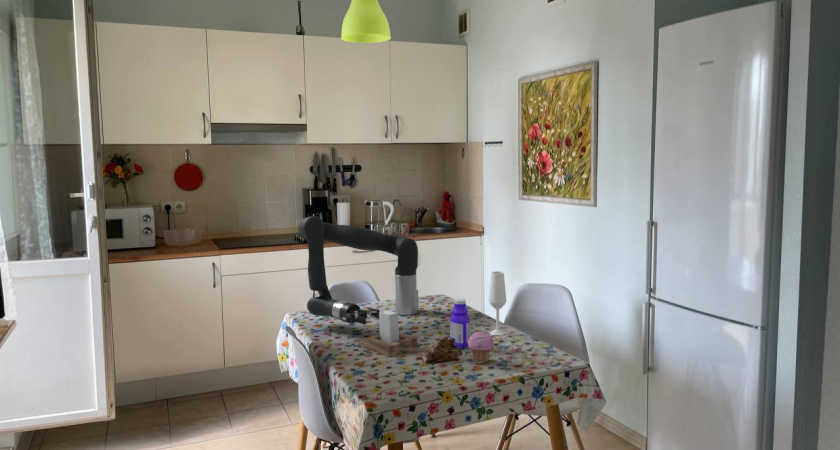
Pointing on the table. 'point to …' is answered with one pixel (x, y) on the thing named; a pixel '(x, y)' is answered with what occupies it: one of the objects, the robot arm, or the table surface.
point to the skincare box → (389, 326)
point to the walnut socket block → (389, 344)
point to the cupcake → (480, 346)
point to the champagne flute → (497, 297)
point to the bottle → (460, 324)
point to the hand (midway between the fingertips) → (374, 319)
